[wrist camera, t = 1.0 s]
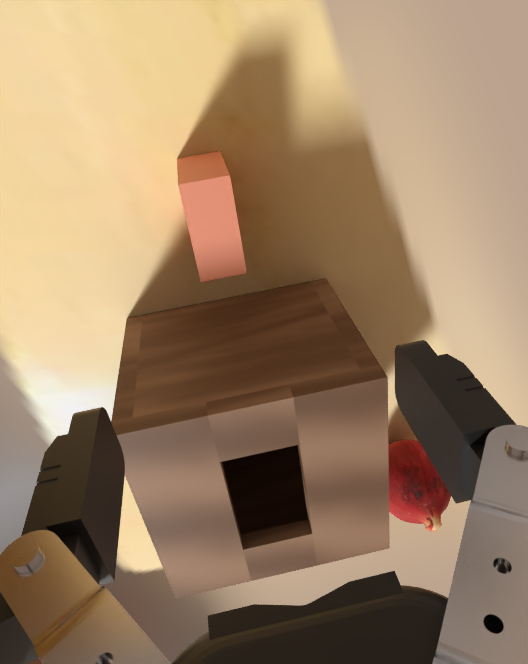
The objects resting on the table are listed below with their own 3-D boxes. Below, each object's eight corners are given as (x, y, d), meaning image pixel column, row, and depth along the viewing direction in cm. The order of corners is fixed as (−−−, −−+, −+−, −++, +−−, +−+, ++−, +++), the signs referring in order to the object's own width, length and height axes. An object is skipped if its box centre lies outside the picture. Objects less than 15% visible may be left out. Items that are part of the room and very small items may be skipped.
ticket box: (127, 318, 32) (109, 437, 23) (328, 278, 33) (391, 376, 24) (174, 462, 39) (175, 598, 30) (340, 425, 40) (392, 547, 30)
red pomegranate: (351, 436, 40) (387, 518, 34) (418, 408, 40) (469, 485, 33) (369, 480, 44) (406, 563, 37) (432, 455, 43) (481, 534, 36)
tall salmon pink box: (177, 158, 28) (178, 184, 23) (220, 150, 28) (229, 175, 23) (196, 243, 30) (200, 282, 26) (235, 235, 30) (246, 273, 26)
